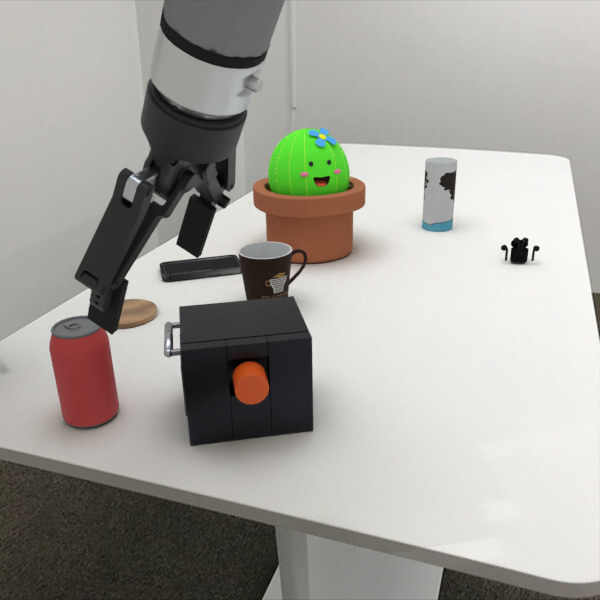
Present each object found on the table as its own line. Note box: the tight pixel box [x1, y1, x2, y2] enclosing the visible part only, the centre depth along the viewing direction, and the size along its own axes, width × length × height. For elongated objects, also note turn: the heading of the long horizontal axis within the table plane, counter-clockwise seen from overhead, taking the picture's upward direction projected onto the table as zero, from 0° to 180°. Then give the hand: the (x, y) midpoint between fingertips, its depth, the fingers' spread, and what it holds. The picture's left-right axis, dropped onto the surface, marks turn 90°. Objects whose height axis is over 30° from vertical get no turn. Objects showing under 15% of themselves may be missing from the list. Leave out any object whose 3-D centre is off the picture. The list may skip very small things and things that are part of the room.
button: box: [233, 361, 269, 404], centre depth 69 cm, size 3×4×4 cm
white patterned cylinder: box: [421, 156, 458, 233], centre depth 143 cm, size 7×7×15 cm
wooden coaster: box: [117, 298, 159, 330], centre depth 105 cm, size 10×10×1 cm
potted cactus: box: [252, 125, 366, 264], centre depth 128 cm, size 22×22×25 cm
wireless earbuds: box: [500, 236, 541, 264], centre depth 123 cm, size 7×2×5 cm, turn 82°
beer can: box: [48, 315, 120, 429], centre depth 76 cm, size 7×7×12 cm
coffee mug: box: [237, 241, 308, 300], centre depth 105 cm, size 12×9×10 cm
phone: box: [158, 254, 242, 282], centre depth 123 cm, size 8×1×15 cm
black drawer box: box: [163, 295, 314, 447], centre depth 76 cm, size 12×16×12 cm
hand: (148, 284), depth 62 cm, fingers open, 13 cm apart
